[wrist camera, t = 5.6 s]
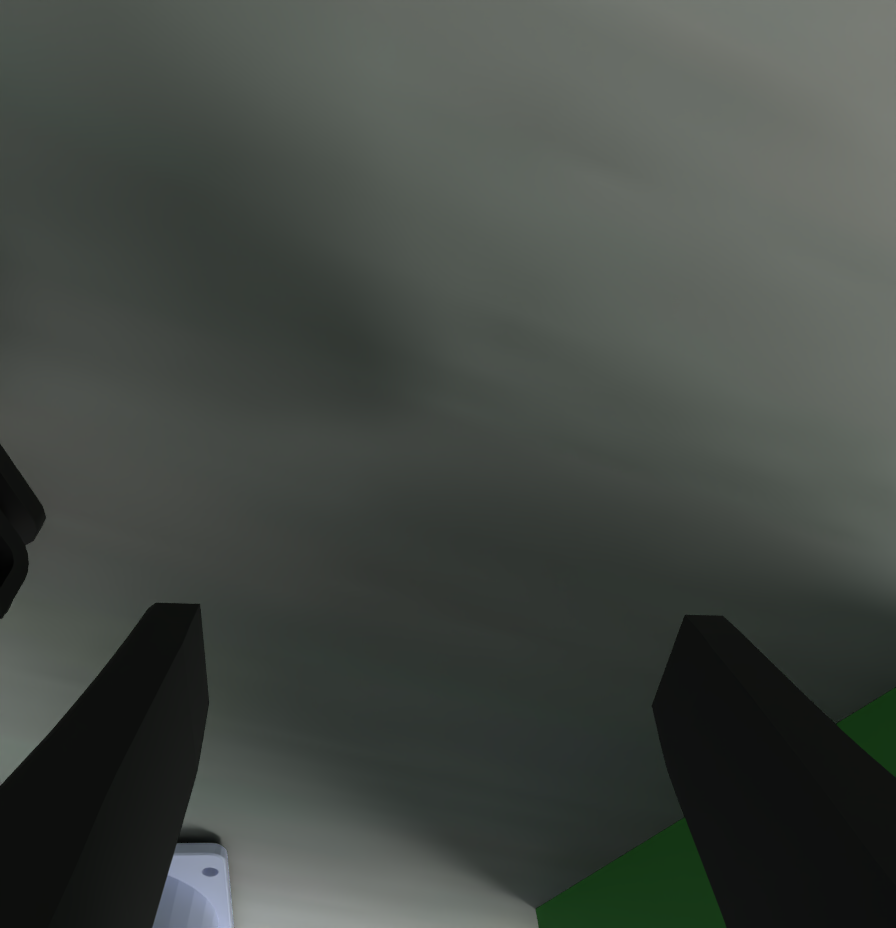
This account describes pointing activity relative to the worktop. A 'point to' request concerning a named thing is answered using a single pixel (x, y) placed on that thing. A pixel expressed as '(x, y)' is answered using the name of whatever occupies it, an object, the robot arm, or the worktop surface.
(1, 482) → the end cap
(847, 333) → the worktop surface
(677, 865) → the green box
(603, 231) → the worktop surface
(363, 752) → the worktop surface
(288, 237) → the worktop surface
